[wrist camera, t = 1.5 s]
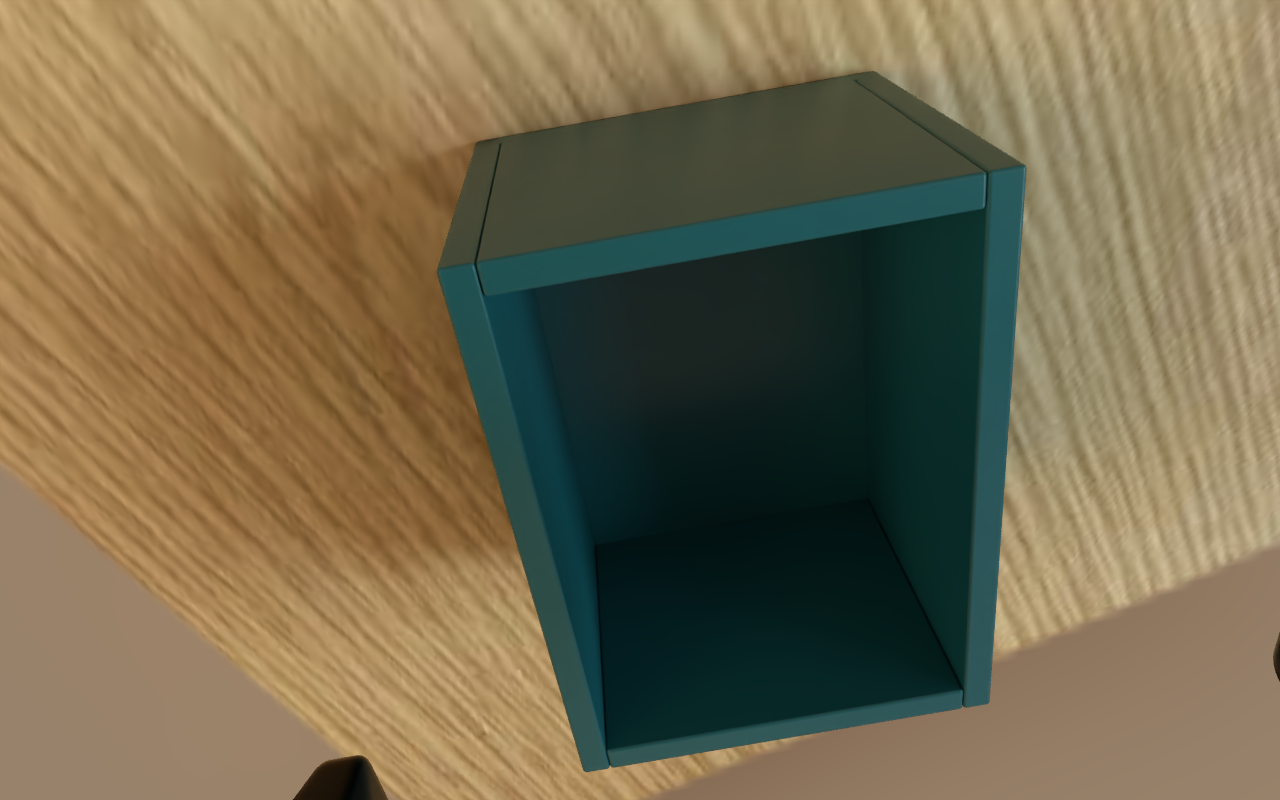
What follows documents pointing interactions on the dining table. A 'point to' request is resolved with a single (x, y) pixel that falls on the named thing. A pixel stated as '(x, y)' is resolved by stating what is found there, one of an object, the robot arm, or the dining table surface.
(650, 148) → the teal bin
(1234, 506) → the dining table surface
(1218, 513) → the dining table surface
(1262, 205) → the dining table surface
